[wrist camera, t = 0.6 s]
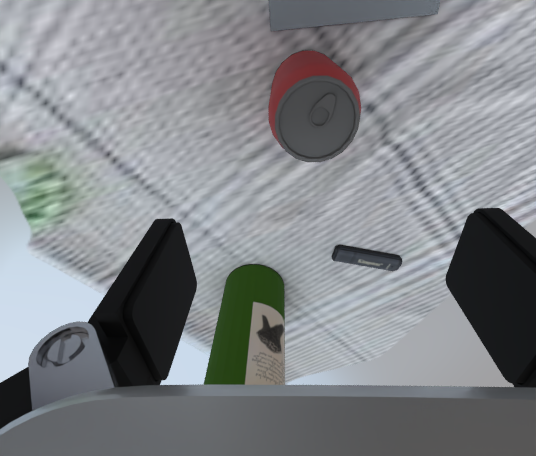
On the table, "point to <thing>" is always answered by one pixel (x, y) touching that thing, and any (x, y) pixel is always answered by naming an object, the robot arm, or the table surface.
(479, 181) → the table surface
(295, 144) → the beer can
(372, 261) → the usb stick
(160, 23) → the table surface
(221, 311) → the wine bottle
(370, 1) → the mat
